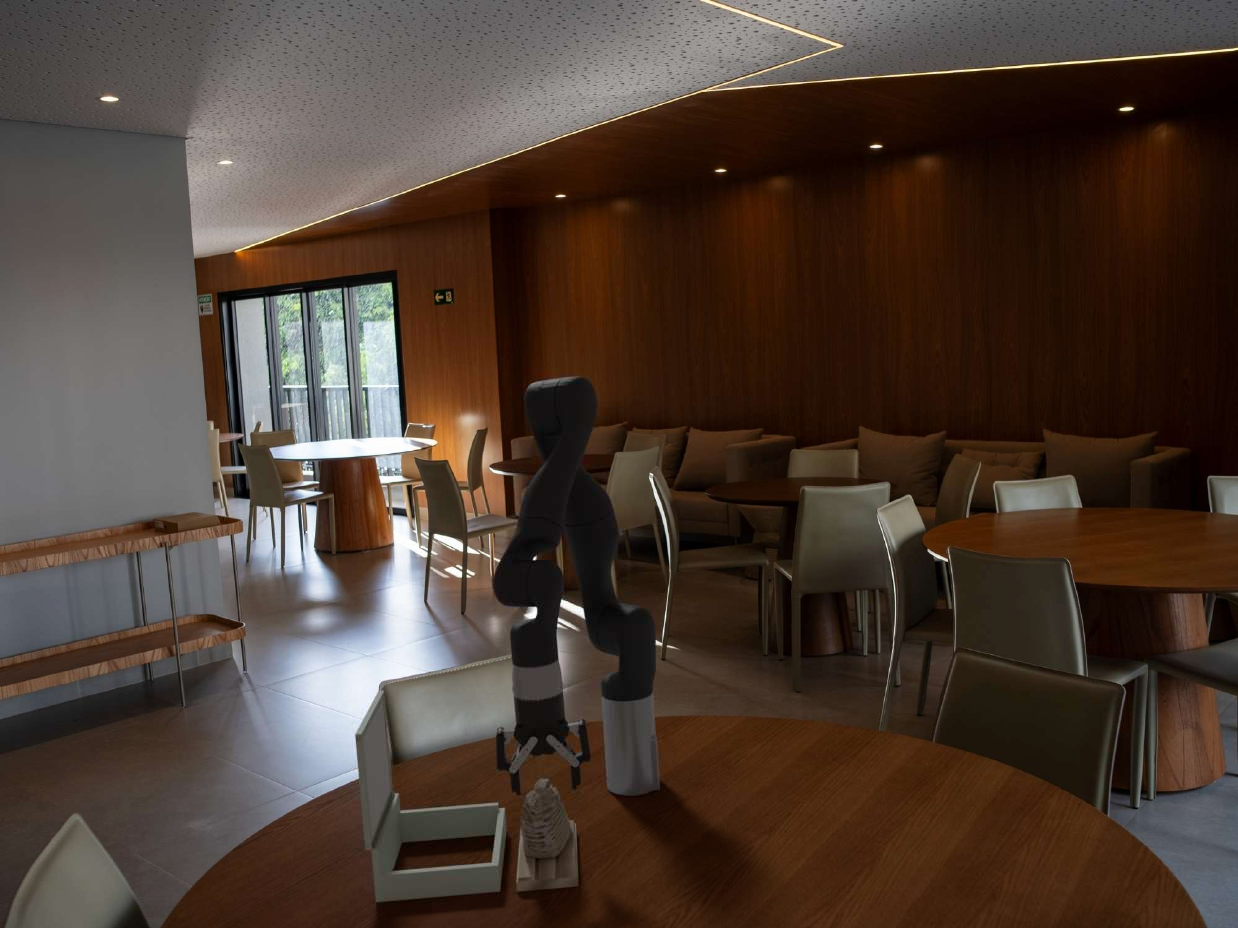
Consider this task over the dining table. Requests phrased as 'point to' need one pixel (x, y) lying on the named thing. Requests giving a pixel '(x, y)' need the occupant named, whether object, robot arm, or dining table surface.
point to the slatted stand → (549, 867)
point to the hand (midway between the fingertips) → (546, 790)
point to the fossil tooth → (544, 822)
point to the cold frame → (417, 826)
